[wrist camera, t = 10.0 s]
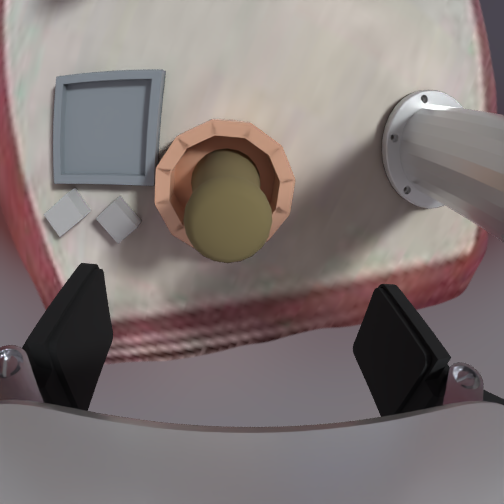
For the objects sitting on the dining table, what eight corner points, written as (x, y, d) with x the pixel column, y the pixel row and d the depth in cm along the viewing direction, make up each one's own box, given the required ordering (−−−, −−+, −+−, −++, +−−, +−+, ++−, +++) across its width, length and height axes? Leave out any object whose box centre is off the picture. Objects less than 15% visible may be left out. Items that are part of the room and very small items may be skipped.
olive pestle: (217, 227, 28) (215, 296, 19) (177, 174, 26) (150, 218, 16) (273, 191, 27) (303, 242, 18) (235, 134, 25) (244, 152, 15)
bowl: (293, 127, 26) (303, 130, 23) (275, 241, 31) (282, 258, 27) (166, 115, 24) (159, 117, 21) (161, 233, 29) (154, 249, 26)
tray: (165, 71, 23) (162, 69, 21) (157, 181, 27) (153, 185, 26) (63, 77, 21) (56, 76, 20) (61, 179, 26) (54, 183, 24)
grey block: (142, 219, 29) (137, 227, 27) (123, 235, 29) (118, 243, 27) (120, 194, 27) (114, 201, 25) (102, 211, 28) (95, 218, 26)
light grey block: (76, 187, 26) (66, 193, 24) (91, 209, 27) (83, 217, 26) (53, 207, 27) (43, 214, 25) (68, 228, 28) (59, 237, 26)
